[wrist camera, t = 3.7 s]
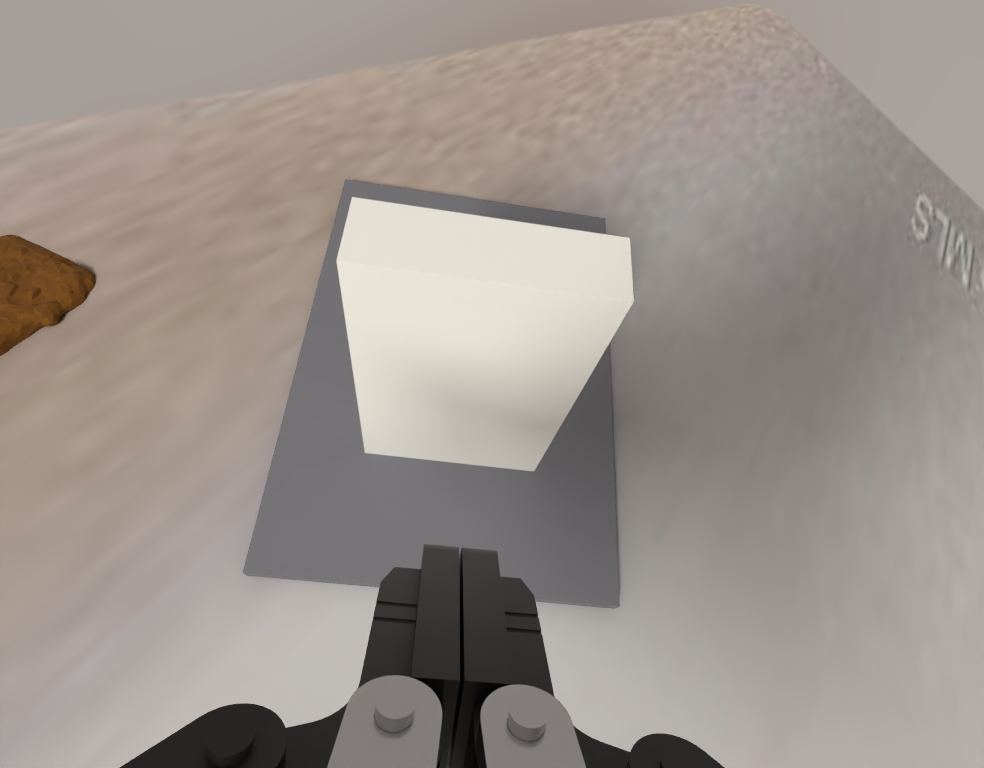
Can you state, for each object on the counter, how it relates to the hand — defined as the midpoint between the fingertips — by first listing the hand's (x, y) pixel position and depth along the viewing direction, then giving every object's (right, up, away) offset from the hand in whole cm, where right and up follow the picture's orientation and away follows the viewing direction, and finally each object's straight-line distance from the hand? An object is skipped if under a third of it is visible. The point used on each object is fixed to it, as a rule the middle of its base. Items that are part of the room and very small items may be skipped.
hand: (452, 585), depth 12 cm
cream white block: (-1, +2, +13) cm, 13 cm away
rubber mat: (-1, +5, +15) cm, 16 cm away
